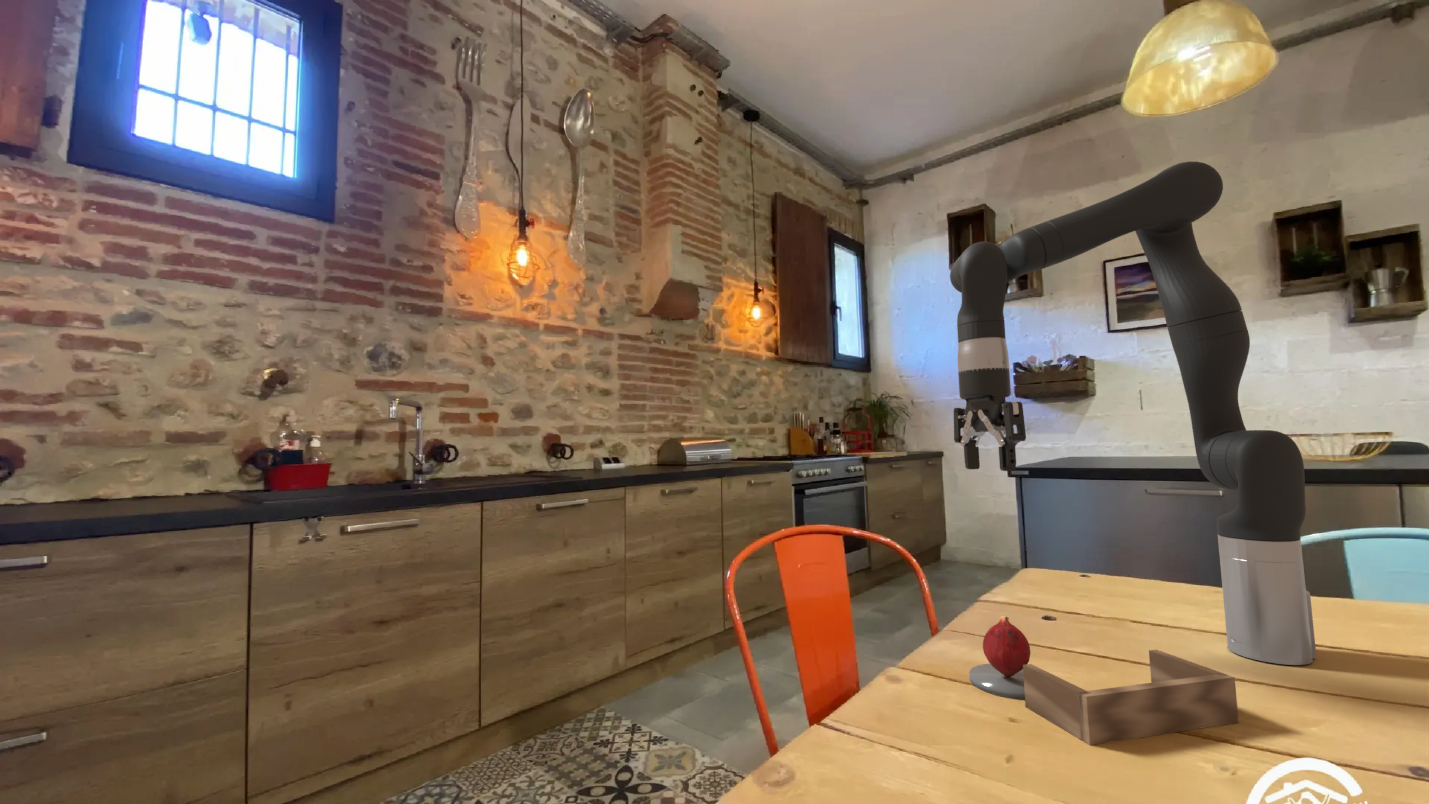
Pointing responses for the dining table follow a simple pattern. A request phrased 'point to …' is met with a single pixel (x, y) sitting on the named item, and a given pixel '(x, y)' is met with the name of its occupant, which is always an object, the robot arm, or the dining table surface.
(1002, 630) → the onion
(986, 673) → the stone
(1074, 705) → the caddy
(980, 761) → the dining table surface
